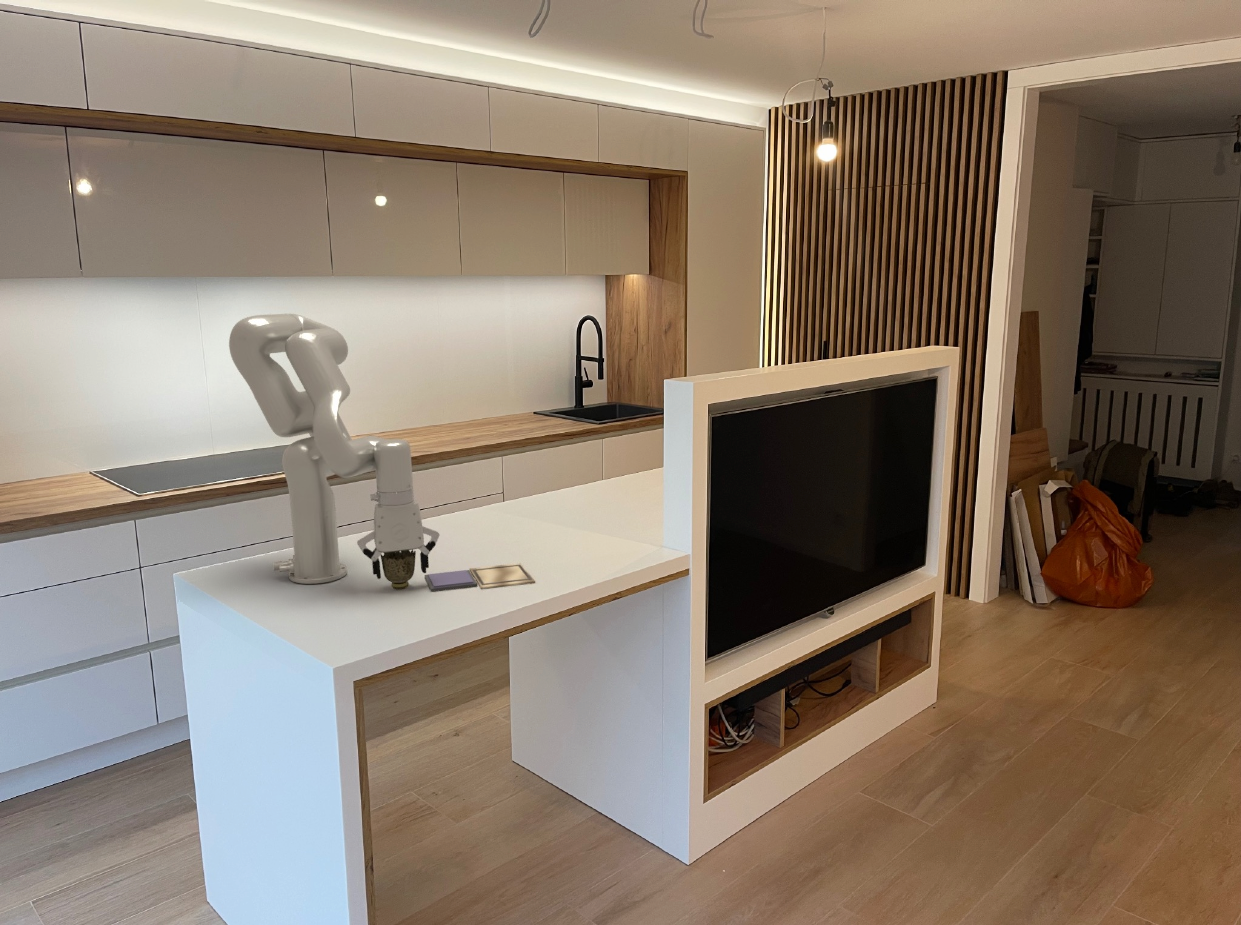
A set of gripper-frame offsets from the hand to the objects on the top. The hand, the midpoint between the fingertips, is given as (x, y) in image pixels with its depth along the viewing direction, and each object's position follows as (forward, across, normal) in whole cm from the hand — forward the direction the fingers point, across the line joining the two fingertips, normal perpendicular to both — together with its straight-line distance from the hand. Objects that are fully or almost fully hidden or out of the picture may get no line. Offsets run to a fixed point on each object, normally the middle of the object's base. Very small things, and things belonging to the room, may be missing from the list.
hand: (401, 574), depth 202 cm
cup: (+3, 0, 0) cm, 3 cm away
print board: (+4, +22, 0) cm, 22 cm away
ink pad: (+3, +10, 0) cm, 11 cm away
